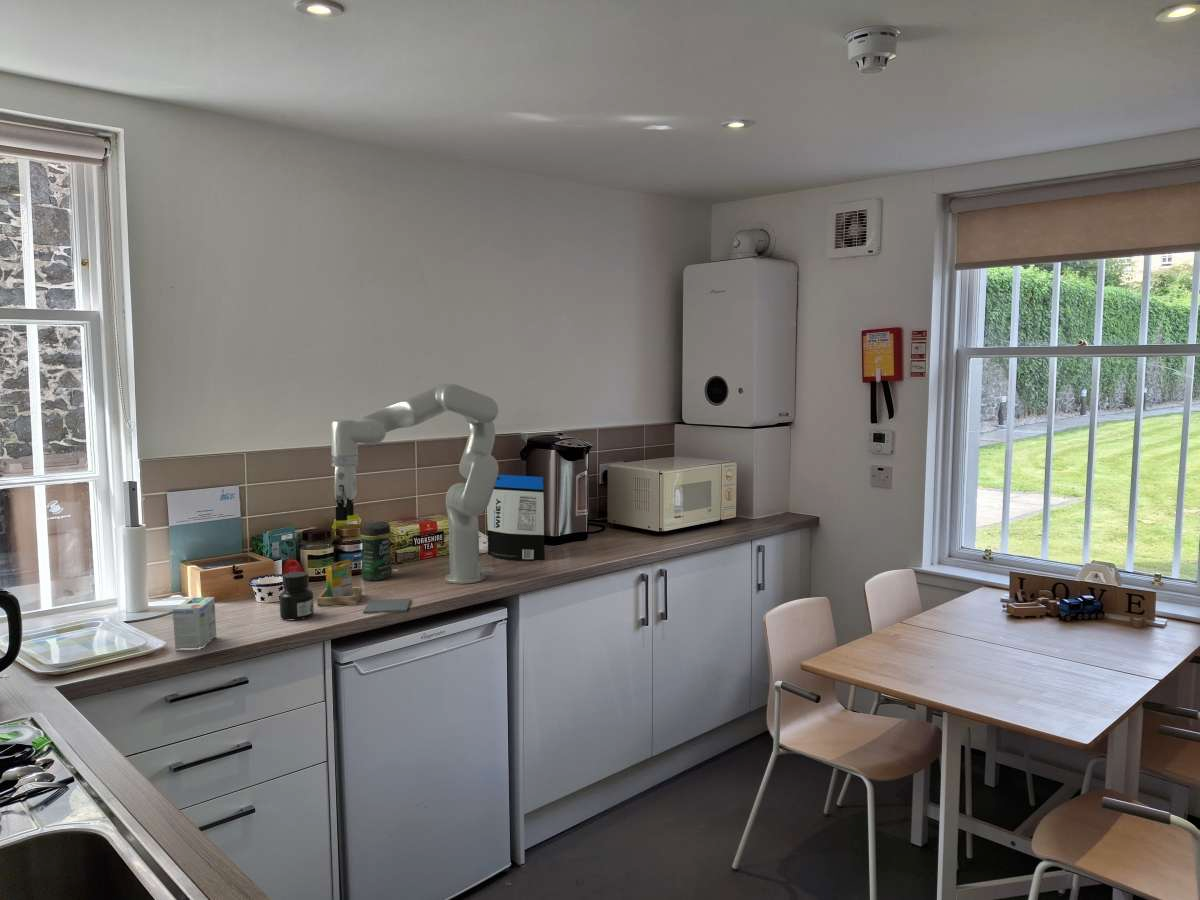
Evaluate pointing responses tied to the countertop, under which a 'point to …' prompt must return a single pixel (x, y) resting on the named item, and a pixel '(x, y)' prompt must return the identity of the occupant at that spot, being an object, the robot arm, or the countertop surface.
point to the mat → (387, 605)
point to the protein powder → (516, 519)
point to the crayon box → (339, 579)
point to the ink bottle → (296, 596)
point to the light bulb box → (194, 622)
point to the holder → (339, 598)
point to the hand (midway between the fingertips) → (344, 517)
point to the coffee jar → (375, 551)
